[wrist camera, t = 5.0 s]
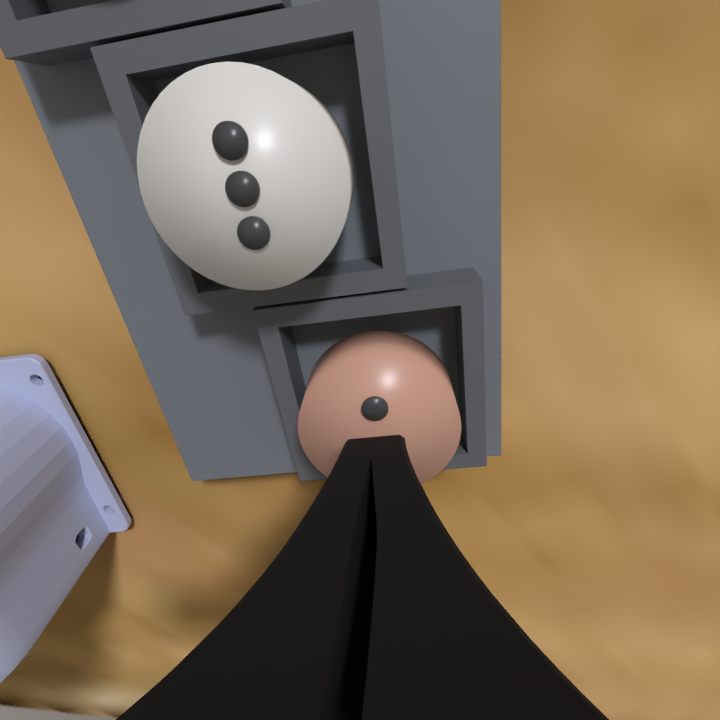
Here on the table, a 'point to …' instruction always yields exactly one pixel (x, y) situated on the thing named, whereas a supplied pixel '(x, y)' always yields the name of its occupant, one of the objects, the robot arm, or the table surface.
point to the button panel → (360, 232)
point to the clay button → (380, 401)
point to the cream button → (244, 175)
